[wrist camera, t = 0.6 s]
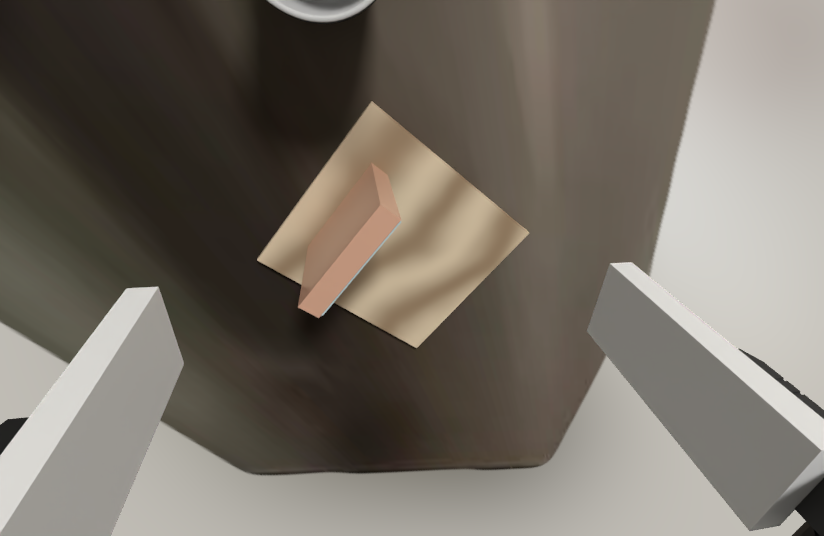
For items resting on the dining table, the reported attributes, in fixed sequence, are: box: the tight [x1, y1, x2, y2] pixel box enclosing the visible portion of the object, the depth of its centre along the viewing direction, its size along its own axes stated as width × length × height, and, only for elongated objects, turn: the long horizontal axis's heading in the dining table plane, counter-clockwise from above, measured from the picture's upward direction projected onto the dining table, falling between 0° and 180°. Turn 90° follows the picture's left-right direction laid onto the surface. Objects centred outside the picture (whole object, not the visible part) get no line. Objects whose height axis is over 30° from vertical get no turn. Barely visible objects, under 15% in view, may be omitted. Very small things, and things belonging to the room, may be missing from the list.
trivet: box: [257, 101, 529, 348], centre depth 40 cm, size 20×18×1 cm
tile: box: [298, 163, 401, 318], centre depth 33 cm, size 2×10×10 cm, turn 140°
